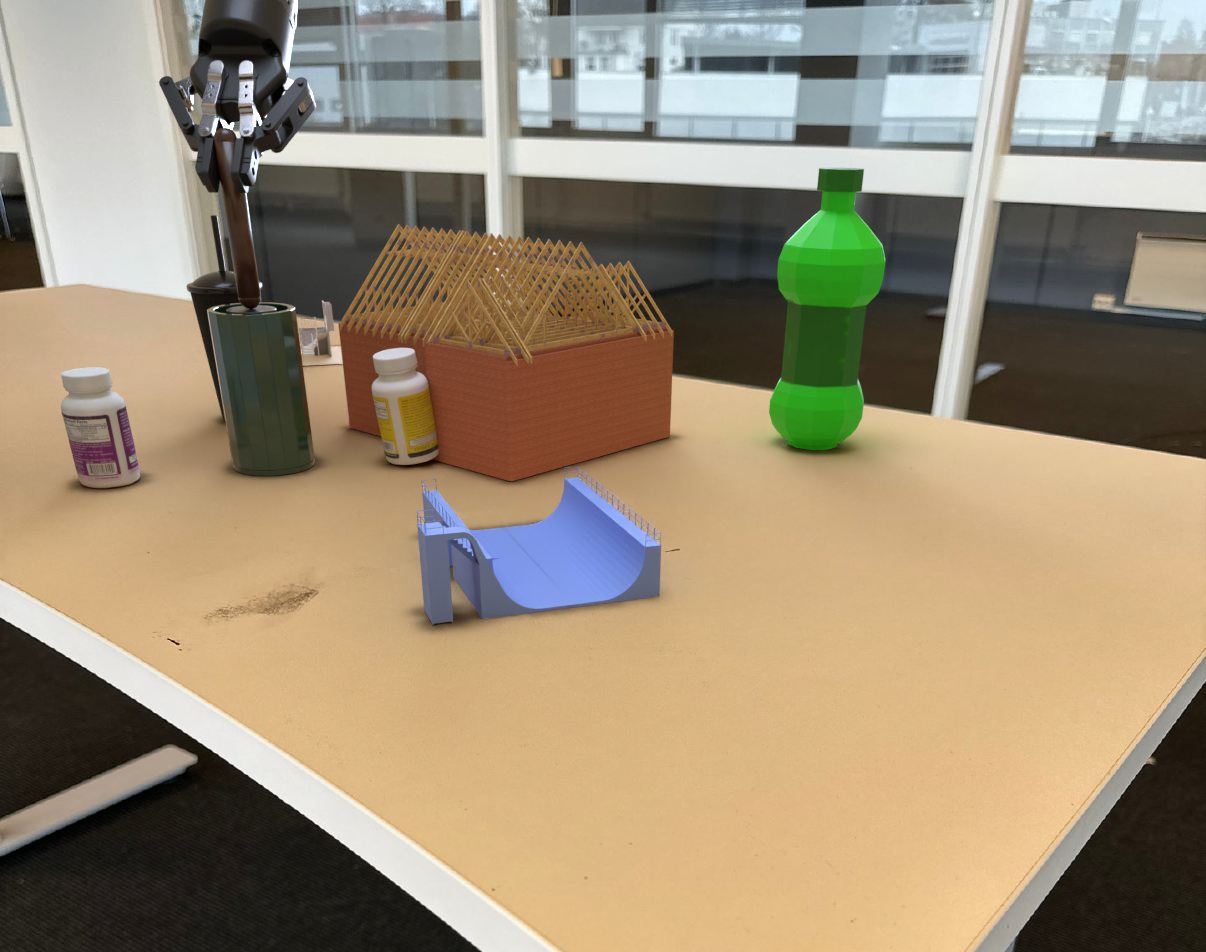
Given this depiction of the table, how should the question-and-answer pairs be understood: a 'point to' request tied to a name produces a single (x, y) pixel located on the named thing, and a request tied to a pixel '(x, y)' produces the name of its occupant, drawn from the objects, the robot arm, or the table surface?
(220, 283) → the drinking cup
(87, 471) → the pill bottle
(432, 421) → the supplement bottle
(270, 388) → the green utensil holder
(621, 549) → the half pipe
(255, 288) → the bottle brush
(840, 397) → the plastic bottle
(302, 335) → the architectural model
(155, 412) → the table surface
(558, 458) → the house
